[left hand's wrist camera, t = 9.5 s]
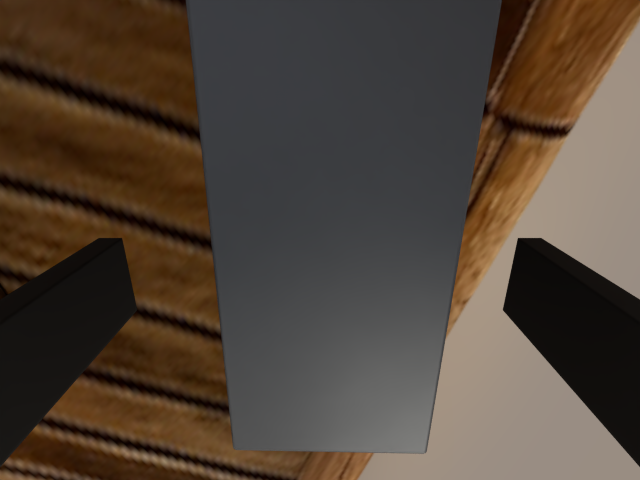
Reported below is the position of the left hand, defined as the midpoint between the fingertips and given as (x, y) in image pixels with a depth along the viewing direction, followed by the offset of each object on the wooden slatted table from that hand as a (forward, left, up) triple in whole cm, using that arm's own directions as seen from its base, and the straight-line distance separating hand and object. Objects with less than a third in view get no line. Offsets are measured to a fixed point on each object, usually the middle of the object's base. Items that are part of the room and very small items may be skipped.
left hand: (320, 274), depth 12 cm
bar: (-2, +10, -4) cm, 11 cm away
